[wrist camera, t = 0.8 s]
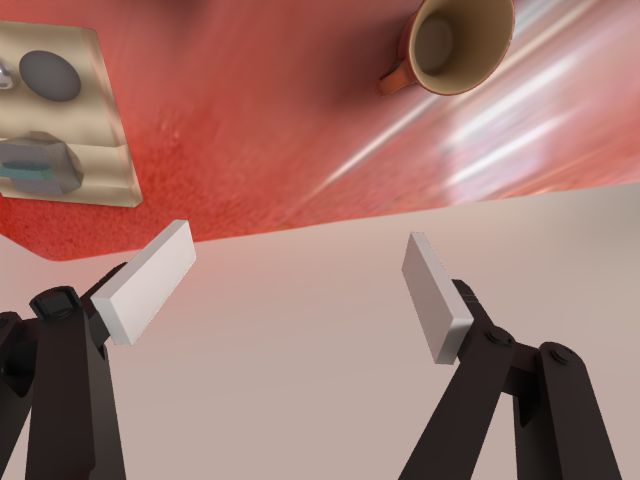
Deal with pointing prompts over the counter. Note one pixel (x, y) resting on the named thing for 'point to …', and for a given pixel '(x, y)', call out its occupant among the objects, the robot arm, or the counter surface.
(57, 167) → the cover
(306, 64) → the counter surface
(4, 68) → the steel ball
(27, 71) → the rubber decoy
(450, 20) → the mug
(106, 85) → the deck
